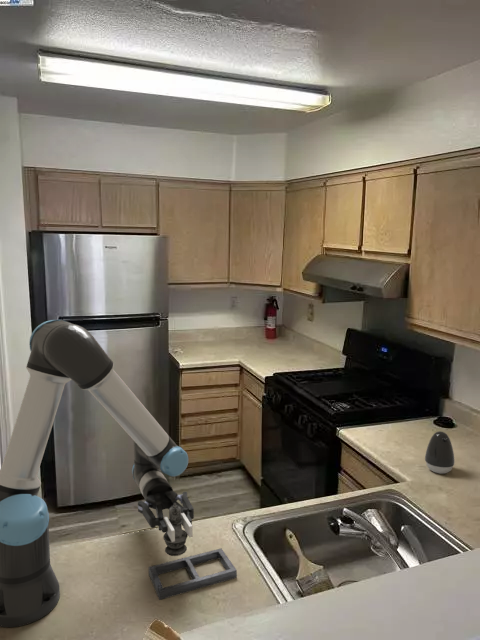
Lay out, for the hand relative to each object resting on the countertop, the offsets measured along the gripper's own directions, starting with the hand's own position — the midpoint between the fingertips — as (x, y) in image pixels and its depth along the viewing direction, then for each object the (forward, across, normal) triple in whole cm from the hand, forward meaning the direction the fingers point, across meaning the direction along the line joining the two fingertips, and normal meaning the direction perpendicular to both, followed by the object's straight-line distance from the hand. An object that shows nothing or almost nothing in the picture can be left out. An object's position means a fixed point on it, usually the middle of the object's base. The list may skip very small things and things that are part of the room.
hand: (182, 533), depth 111 cm
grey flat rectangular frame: (-5, -4, -15) cm, 16 cm away
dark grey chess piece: (-5, 0, -7) cm, 9 cm away
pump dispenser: (-26, -108, -16) cm, 112 cm away
